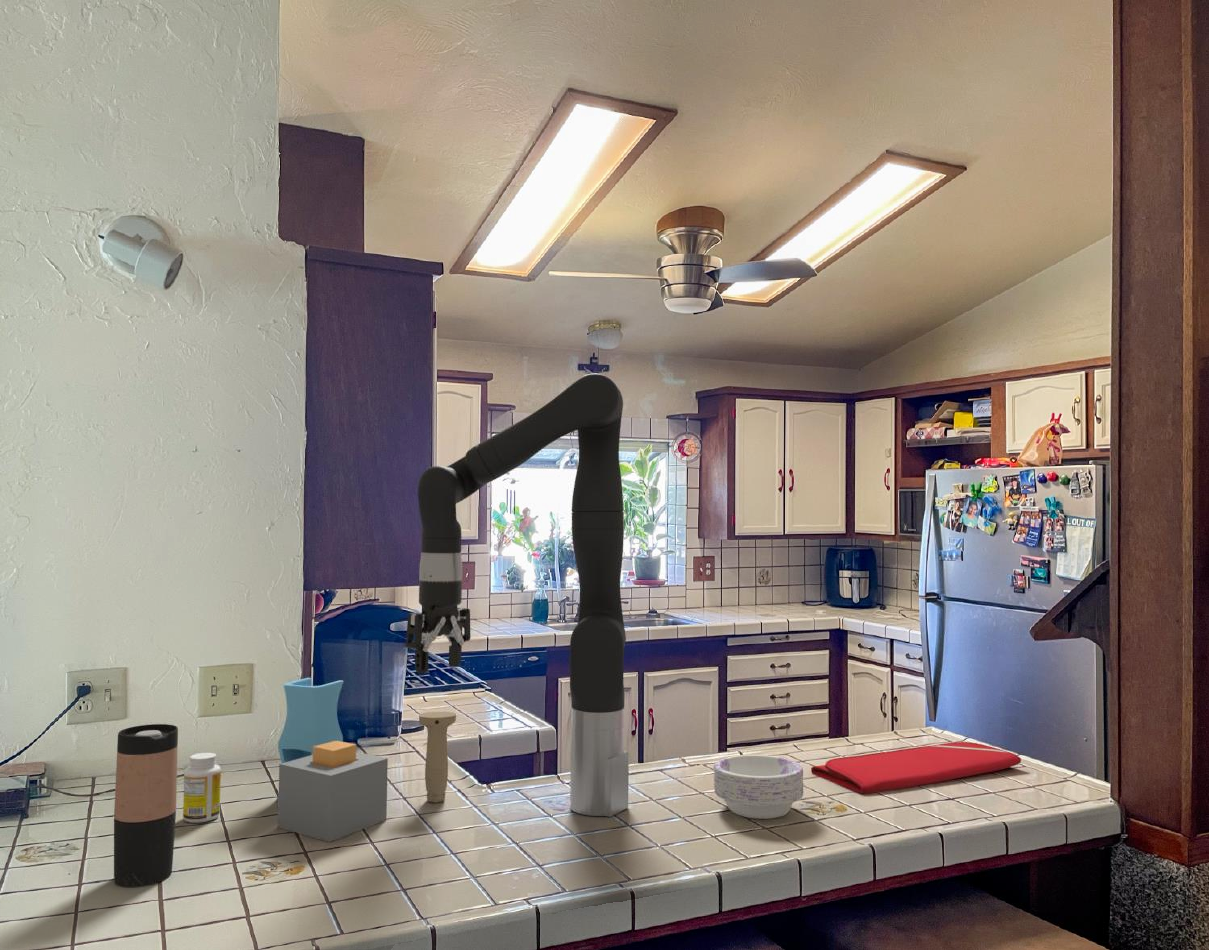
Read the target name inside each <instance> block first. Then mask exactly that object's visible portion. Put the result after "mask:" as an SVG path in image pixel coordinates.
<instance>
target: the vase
mask: <svg viewBox="0 0 1209 950" xmlns="http://www.w3.org/2000/svg"><path fill="white" fill-rule="evenodd" d="M343 685H344V680H341V679H340V680H337V681H336V680H335V681H332V682H329V683H326V684H322V685H312V678H311V677H306V678H302V679H297V680H294V681H289V682H286V683H284V684H283V688H284V692H285V693H284V694H285V701H286V718H285V722H284V725H283V730H282V731H281V734H280V737H279V738H278V742H277V743H278V744H277V748H278V754H279V757H280V764H281V763H285V762H288V761H292V760H296V759H299V758H303V757H307V756H310V755H313V747H314V746H317V745H321V744H325V743H329V742H332V741H341V742H344V736H343V733H342V730H341V728H340V725H339V719H338V702H339V698H340V694H341V690H342V687H343ZM278 797H279V792H278V793H277V798H276V800H278Z"/></svg>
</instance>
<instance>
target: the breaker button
mask: <svg viewBox="0 0 1209 950" xmlns="http://www.w3.org/2000/svg"><path fill="white" fill-rule="evenodd" d="M356 752H357V744H355V743H349V742H346V741H343V742H341V741H332V742H329V743H325V744H321V745H317V746H314V747H313V763H314V764H318V765H323V766H327V767H332V768H334V767H337V766H340V765H344V764H347V763H350V762H354V761H356Z"/></svg>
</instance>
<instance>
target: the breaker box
mask: <svg viewBox="0 0 1209 950" xmlns="http://www.w3.org/2000/svg"><path fill="white" fill-rule="evenodd" d="M388 763H389V760H388V758H387V757H383V756H378V755H374V754H373V755H372V754H368V753H365V752H364V753H363V752H359V751H358V752H357V751H356V761H354V762H350V763H347V764H344V765H340V766H337V767H334V768H332V767H327V766H323V765H318V764H314V763H313V755H310V756H307V757H303V758H299V759H296V760H292V761H288V762H285V763H281V762H280V763H279V768H278V769H279V770H278V793H279V797H278V796H277V797H278V799H277V801H278V805H277V828H280V829H283V830H286V831H290V832H293V833H297V834H299V835H300V834H301V835H304V836H306V837H307V836H308V837H310V838H314V839H318V840H321V841H325V842H332V841H335V840H338V839H341V838H343V837H345V836H348V835H352V834H354V833H356V832H358V831H362V830H363V829H367V828H368V827H369V828H370V827H371V826H373V825H377V824H379V823H382V822H385V821H387V815H388V813H387V809H388V808H387V807H388V767H389V766H388Z"/></svg>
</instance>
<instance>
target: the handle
mask: <svg viewBox="0 0 1209 950" xmlns="http://www.w3.org/2000/svg"><path fill="white" fill-rule="evenodd" d="M456 721H457V713H456V712H453V711H428V712H421V713H419V715H418V723H420V724H421V725H422V726H424V727H425V728H427V739H426V740H427V741H426V753H425V754H426V755H425V765H424V766H425V767H424V778H425V780H424V781H425V790H426V800H427V802H429V803H434V804H437V803H441V802H442V803H443V802H444V801H445V799H446V791H447V786H448V777H449V759H448V758H449V757H448V728H449V726H452V725H453V724H454V723H455V722H456Z"/></svg>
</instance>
